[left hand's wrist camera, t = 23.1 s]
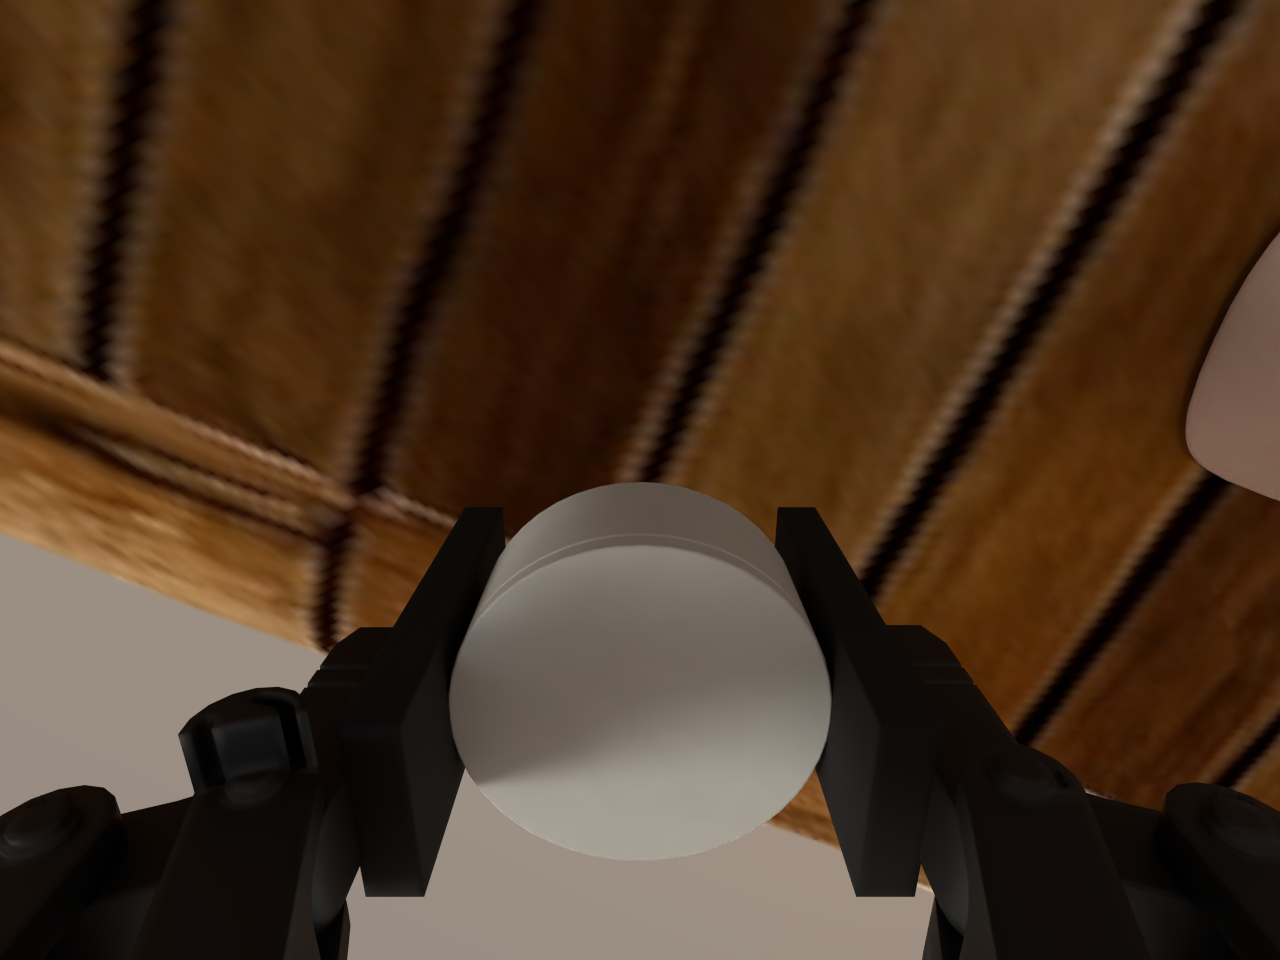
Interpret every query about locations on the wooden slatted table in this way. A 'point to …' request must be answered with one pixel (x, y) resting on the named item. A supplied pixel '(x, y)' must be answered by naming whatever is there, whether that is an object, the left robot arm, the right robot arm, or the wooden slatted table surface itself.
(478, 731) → the lid
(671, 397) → the wooden slatted table surface
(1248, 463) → the anatomical model
